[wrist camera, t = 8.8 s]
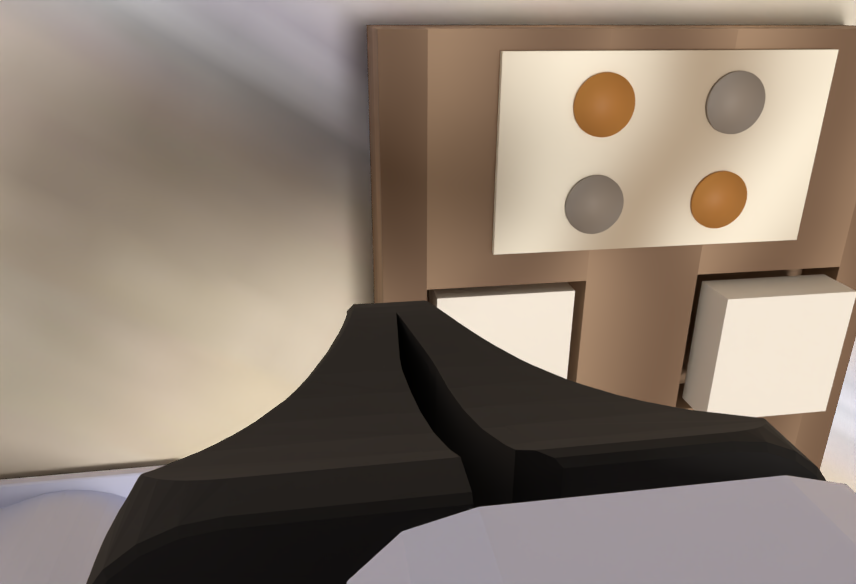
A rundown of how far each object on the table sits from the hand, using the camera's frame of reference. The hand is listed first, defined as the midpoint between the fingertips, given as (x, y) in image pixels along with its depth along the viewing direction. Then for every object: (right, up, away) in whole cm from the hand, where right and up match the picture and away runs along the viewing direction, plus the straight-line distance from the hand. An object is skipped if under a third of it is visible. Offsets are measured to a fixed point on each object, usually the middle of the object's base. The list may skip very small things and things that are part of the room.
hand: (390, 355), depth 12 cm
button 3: (+3, 0, +10) cm, 10 cm away
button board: (+6, -2, +13) cm, 15 cm away
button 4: (+11, 0, +10) cm, 15 cm away
